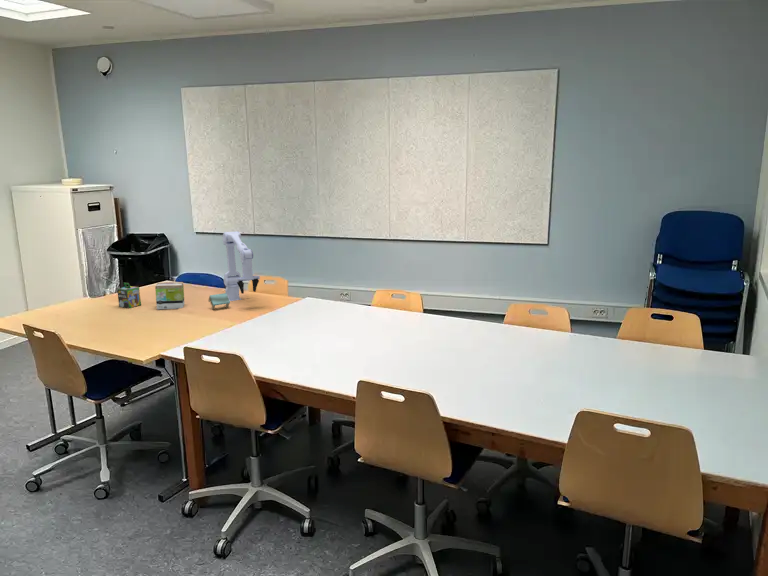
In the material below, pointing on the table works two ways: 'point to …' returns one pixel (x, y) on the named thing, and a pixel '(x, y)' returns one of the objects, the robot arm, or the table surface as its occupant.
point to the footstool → (219, 300)
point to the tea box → (169, 295)
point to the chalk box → (128, 296)
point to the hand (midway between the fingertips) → (248, 292)
